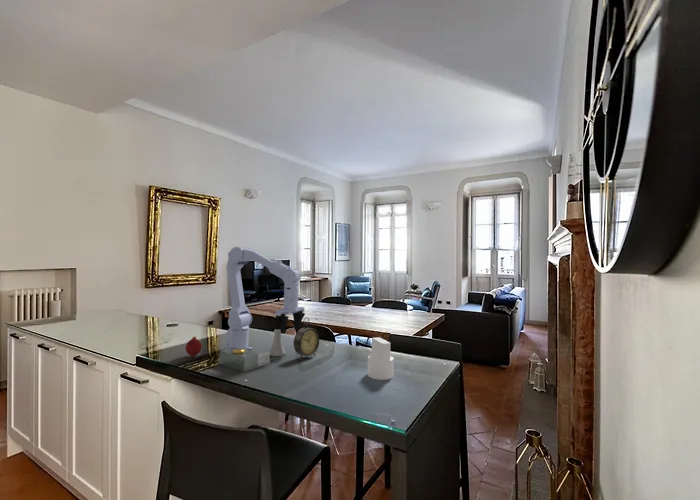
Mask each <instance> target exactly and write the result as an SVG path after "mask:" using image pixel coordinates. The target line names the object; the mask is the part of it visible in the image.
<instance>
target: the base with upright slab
mask: <svg viewBox="0 0 700 500" xmlns="http://www.w3.org/2000/svg"><path fill="white" fill-rule="evenodd" d="M394 360H395V359H394V356H392V355H391V342H390V341H388V340H385V339H384V338H382V337H378V336H377V337H372V338H371V354H370V355H368V356H367V377H369V378H371V379H373V380H380V381H381V380H382V381H383V380H391V379H392V378H394V375H395V374H394V372H395V371H394V370H395V368H394V366H395V362H394Z"/></svg>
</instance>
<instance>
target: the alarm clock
mask: <svg viewBox="0 0 700 500" xmlns="http://www.w3.org/2000/svg"><path fill="white" fill-rule="evenodd" d="M306 319H307V320H308V321H307V323H305V321H306ZM302 322H303V325H304V327H302V328H299V330H297V332H296V333H295V336H294V338H293V348H294V351H295V352H296V354H298V355H299V356H300V357H299V359H298V360H299V361H301V359H303V357H311V356H313V355H314V356H316V352H317V350H318V348H319V345H320V336H319V333H318V331H317V330H316V329H315V328H312V327H308V325H309V323H310V318H309V317H307V316H306V317H305V318H303V320H302Z"/></svg>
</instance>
